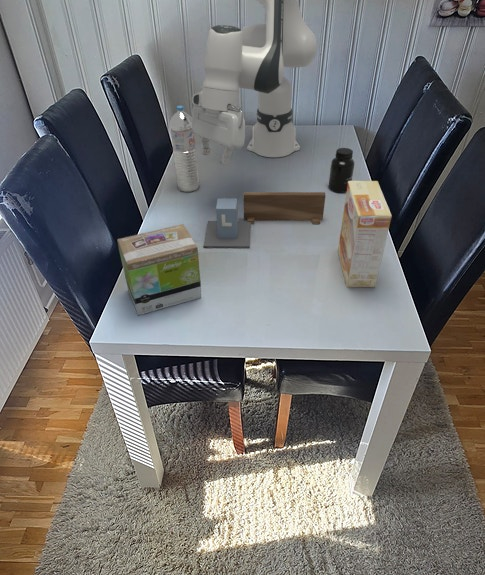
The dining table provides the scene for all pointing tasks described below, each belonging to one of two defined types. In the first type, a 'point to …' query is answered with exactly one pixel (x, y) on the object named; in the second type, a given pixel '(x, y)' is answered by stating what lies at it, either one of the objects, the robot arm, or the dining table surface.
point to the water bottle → (184, 151)
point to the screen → (284, 206)
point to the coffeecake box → (363, 233)
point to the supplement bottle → (341, 170)
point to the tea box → (161, 268)
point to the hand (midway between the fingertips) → (214, 159)
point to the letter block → (227, 218)
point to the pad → (216, 242)
